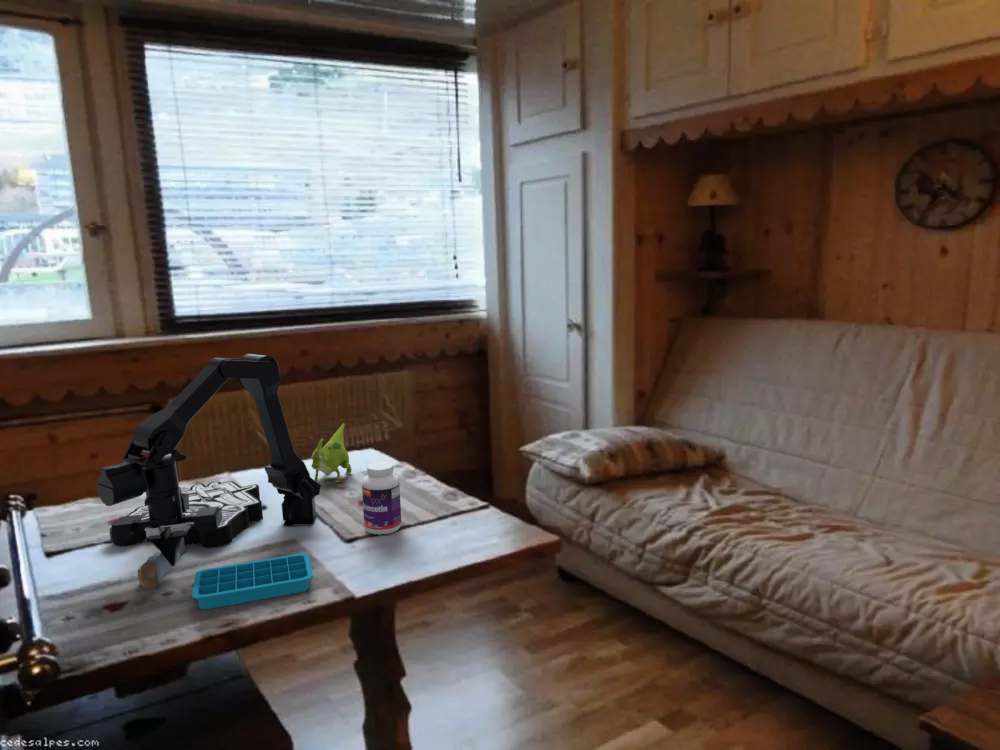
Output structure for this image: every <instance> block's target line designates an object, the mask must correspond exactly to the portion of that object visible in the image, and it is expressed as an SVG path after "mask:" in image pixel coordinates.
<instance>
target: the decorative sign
mask: <svg viewBox="0 0 1000 750" xmlns="http://www.w3.org/2000/svg"><path fill="white" fill-rule="evenodd" d="M181 492H182V493H189V509H187V511H186V513H183V516H187V515H196V513H197V511H198V510H199V508H207V507H216V506H218V507H219V508H220V509H221V511H222V518H223V519H222V521H221V523H220V525H219V527H218V528H217V529H216V530H212V531H203V532H199V531H197V530H196V529H194V525H191V528H190V529H189V531H188V533H187V534H186V536H185V537H184V546H192V545H198V544H199V545H200V546H201V547H203V548H204V549H217V548H221V547H224V546H228V545H230V544H231V543H232V542H233V540H234V539H235V538H237V536H238V535H240V534H241V533H242V532H243V531H244V530H247V529H248V528H250V524H251V523H256V522H259V521H262V520H263V519H264V516H263V515H264V514H263V503H262V500H261V496H260V486H259V484H256V483H255V484H250V485H245V486H241V485H240V484H238V483H236V482H235V481H232V480H231V481H230V480H229V481H224V482H221V481H212V482H209V483H208V484H207V485H205V484H204V483H196V484H193V485H191V486H190V488H189V490H185V491H181ZM133 515H140V517H141V520H149V519H150V518H149V512H148V505H145V501H144V505H142V506H137V507H136V508H135V509H134V510H133V511H131V512H129V513H128V514H127V515H126V516H133ZM116 521H117V520H116ZM116 521H114V522H112V523H110V524H111V525H110V526H111V527H112V526H113V524H114V523H115V522H116ZM170 532H171V528H170ZM132 533H133V535H132V536H131V537H130V538H129V539H128V540H123V541H114V542H113V545H114V546H116V547H121V548H122V547H130V546H135V545H139V544H141V543H143V542H146V537H147V534H146V531H136V532H132Z"/></svg>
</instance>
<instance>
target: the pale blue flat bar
mask: <svg viewBox="0 0 1000 750" xmlns="http://www.w3.org/2000/svg"><path fill="white" fill-rule="evenodd" d="M171 532H172V530H171ZM185 546H186V545H184V537H183V538H182V539H181V542H180V545H179V550H178V555H177V559H176V561H177V560H178V559H179V558H180V557H181V555H183V554H185V553H186V547H185ZM147 562H156V568H157V576H158V583H160V581H161V580H162V579H163V577H164V576H165V575H166V574H167V573H168V571H169V570H171V567H172V566H171V565H170V563H169V562H168V561H167V559H166V558H165V557H164V555H163V554H162V553H161V551H160V550H159V549H158V548H157V550H156V551H154V553H153V554H152V555H150V556H149V557H148V558H147V559H146V563H147Z"/></svg>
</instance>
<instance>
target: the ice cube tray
mask: <svg viewBox="0 0 1000 750" xmlns="http://www.w3.org/2000/svg"><path fill="white" fill-rule="evenodd" d="M194 573H195V574H194V581H193V588H192V594H191V596H192V597H191V598H192V599H194V600H197V603H198V608H199V609H201V610H209V609H216V608H220V607H227V606H232V605H237V604H242V603H243V604H244V603H248V602H254V600H255V601H259V600H265V599H270V598H271V599H272V598H275V597H283V596H288V595H292V593H294V594H298V593H304V592H306V590H307V591H308V590H309V588H310V580H312V578H314V573H313V568H312V563H311V559H310V555H309V553H304V552H303V553H296V554H290V555H283V556H278V557H272V558H271V557H270V558H265V559H258V560H253V561H246V562H239V563H234V564H233V563H232V564H227V565H222V566H216V567H211V568H210V567H209V568H203V569H200V570H197V571H196V572H194ZM303 591H304V592H303ZM282 595H283V596H282Z"/></svg>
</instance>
